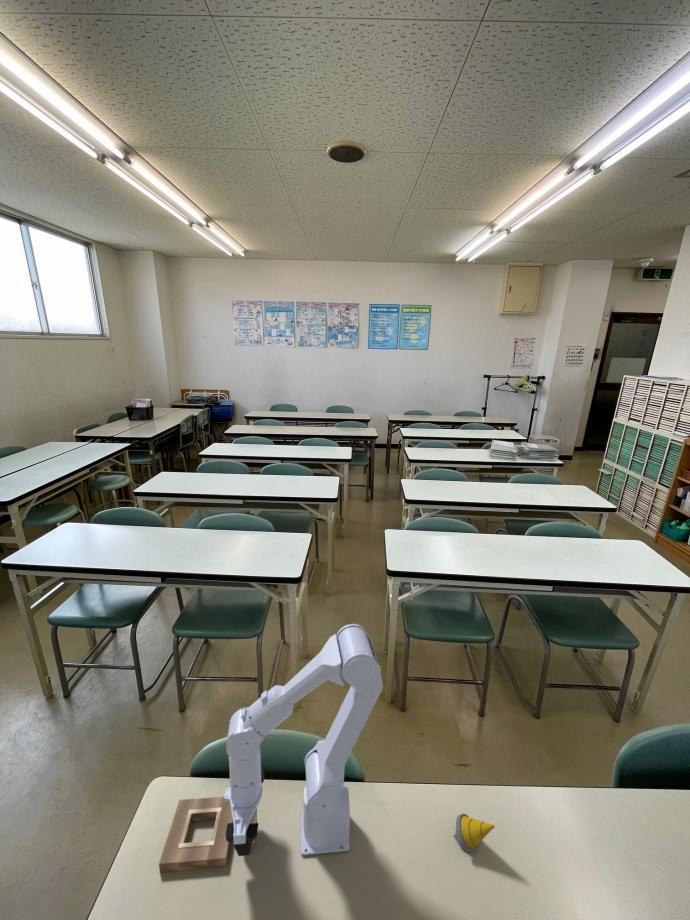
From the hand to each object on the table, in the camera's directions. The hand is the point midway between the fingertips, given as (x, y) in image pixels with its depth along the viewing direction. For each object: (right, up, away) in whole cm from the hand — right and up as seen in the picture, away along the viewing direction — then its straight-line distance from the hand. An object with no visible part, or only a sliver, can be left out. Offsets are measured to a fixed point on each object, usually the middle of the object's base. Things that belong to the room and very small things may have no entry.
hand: (247, 829), depth 74 cm
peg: (0, -3, +1) cm, 3 cm away
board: (-10, -3, +2) cm, 10 cm away
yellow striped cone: (+45, -4, +2) cm, 45 cm away
